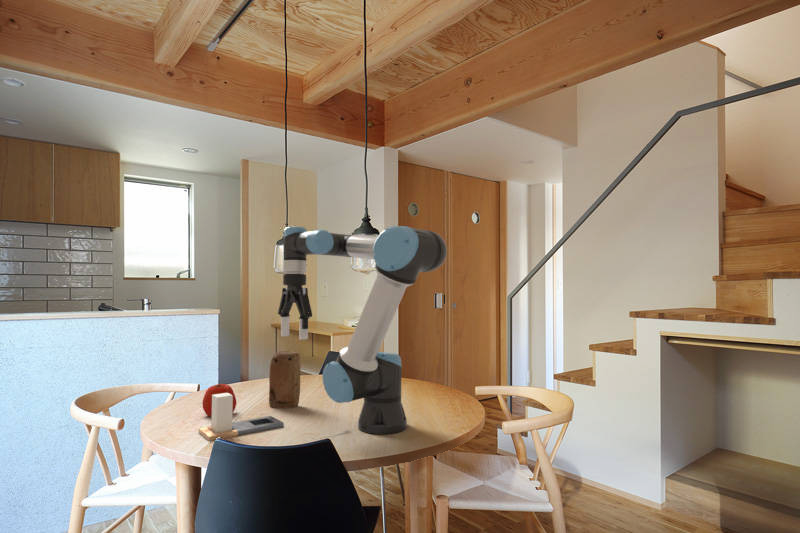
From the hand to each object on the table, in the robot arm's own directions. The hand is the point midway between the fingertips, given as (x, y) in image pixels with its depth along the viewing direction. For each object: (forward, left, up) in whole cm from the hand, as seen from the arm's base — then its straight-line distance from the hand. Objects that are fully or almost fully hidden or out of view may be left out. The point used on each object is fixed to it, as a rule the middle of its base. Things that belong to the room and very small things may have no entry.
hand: (294, 337), depth 155 cm
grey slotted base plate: (-3, +18, -27) cm, 32 cm away
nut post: (-3, +24, -26) cm, 35 cm away
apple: (+21, +17, -27) cm, 38 cm away
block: (+17, -5, -27) cm, 32 cm away
